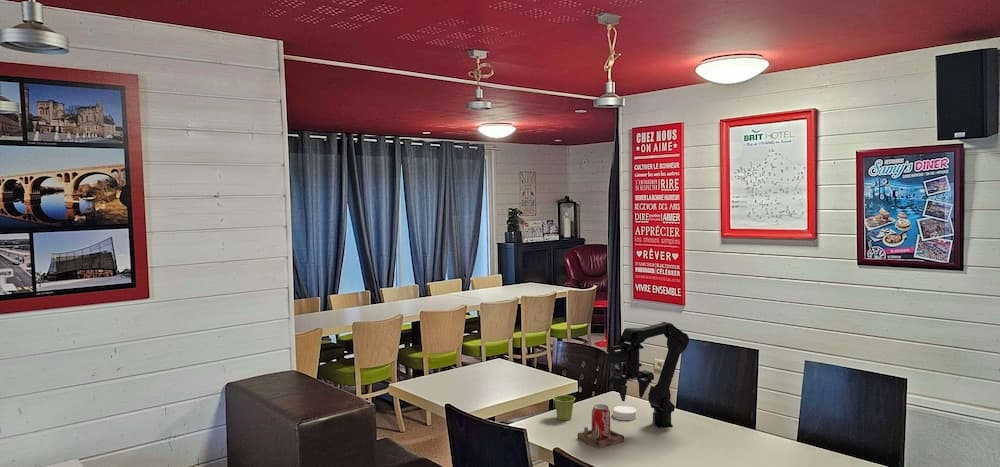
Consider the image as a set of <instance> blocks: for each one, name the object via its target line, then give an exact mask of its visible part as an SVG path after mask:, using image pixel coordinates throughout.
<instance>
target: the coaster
mask: <svg viewBox="0 0 1000 467" xmlns="http://www.w3.org/2000/svg"><path fill="white" fill-rule="evenodd" d="M612 414H613V415H612V417H613V418H614V419H616V420H618V421H626V420H629V421H634V420H636V419H637V414H638V413H637V409H636V408H635V407H633V406H629V405H618V406H614V408H612ZM633 419H634V420H633Z"/></svg>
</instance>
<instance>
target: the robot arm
mask: <svg viewBox="0 0 1000 467" xmlns="http://www.w3.org/2000/svg"><path fill="white" fill-rule="evenodd" d="M660 335H663V336H664V337H665V338H666V348H667V353H666V356H665V359H664V363H663V365H662V368H661V371H660V375H659V378H658V381H657V383H656V384H655V385H654V386H653V385H651V386H650V388H649V392H648V394H647V396H648V398H647V401H648V403H649V405H650V407H651V409H653V412H652V422H651V423H652V424H654V425H655V426H656V427H657V428H666V427H668V428H669V427H673V426H674V425H673V424H672V413H673V412H675V409H676V405H675V404H674V403H672V402H671V397H672V395H671V389H670V388H671V384H672V381H673V377H674V375H675V372H676V368H677V365H678V362H679V359H680V356H681V354H683V352H684V351H685V350H686V349H687V347H688V345H689V342H690V337H689V336H688V334H687V333H685V332H683V331H682V330H680V329H679V328H678V327H677V326H675V325H674V324H673V323H671V322H667V321H662V322H661V323H655V324H652V325H648V326H644V327H640V328H639V327H627V328H625V329H623V332H622V334H621V335H620V337H619V340H618V341H617V342H616V345H611V346H610V349H608V352H607V353H606V354H607V355H606V357H607V360H608V361H609V363H610V364H611V373H612V374H615V375H611V376H610V377H609V384H612V386H615V388H616V389H617V390H618V393H619V396H620V399H621V401H622V402H625V401H626V399H627V398H626V397H627V392H628V385H627V384H628V382H630V381H631V382H632V381H637V383H638V396H639V398H641V399H642V398H643V396H644V395H645V392H646V391H647V389H648V387H649V385H650V384H651V383H652V382H653V381H654V380H655V375H654V372H651V371H648V370H646V369H645V370H640V367H643V366H642V363H640V350H643V349H644V348H645V347H644V346H643V345H642V343H644V342H645V340H647V339H649V338H653V337H657V336H660ZM620 363H622V364H621V366H619V365H618V364H620Z"/></svg>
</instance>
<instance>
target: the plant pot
mask: <svg viewBox="0 0 1000 467" xmlns="http://www.w3.org/2000/svg"><path fill="white" fill-rule="evenodd" d="M552 400H553V401H554V402H553V403H554V406H555V411H556V418H557V420H559V421H561V420H563V421H570V420H571V419H573V418H572V417H573V409H574V408H573V407H574V403H575V400H576V397H574V396H573V395H566V394H564V395H563V394H561V395H560V394H559V395H556V396H554V397H553V398H552Z"/></svg>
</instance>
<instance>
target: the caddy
mask: <svg viewBox="0 0 1000 467" xmlns="http://www.w3.org/2000/svg"><path fill="white" fill-rule="evenodd" d="M583 428H584V429H583V430H584V431H579V432H577V439H578V440H580V441H582V442H584V443H586V444H588V445H590V446H592V447H594V448H596V449H601V448H604V447H610V446H613V445H615V444H616V445H617V444H620V443H625V435H623V434H621V433H618V432H616V431H614V430H612V429H610V437H608V438H607V439H605V440H599V439H597V432H596V431H593V436H592V429H589V427H588V426H585V427H583Z"/></svg>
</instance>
